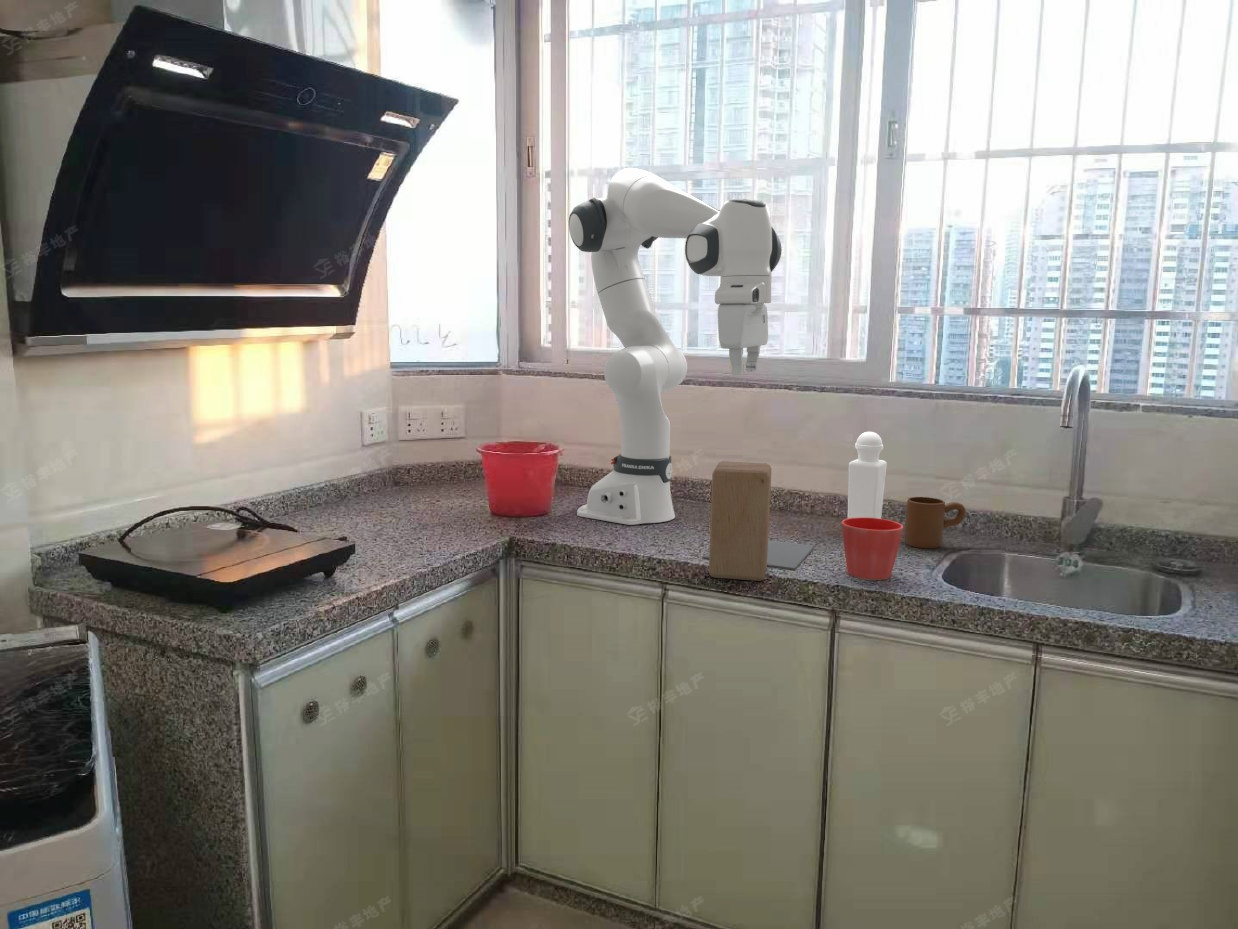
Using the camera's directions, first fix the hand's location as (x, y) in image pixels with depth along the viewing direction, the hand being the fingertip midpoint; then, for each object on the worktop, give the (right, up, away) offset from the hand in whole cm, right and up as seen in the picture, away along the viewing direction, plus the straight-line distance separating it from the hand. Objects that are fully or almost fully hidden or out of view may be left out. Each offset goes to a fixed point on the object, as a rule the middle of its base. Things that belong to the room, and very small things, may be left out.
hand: (744, 373), depth 168 cm
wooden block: (0, -36, +6) cm, 37 cm away
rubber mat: (+6, -34, +20) cm, 40 cm away
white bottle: (+31, -31, +39) cm, 59 cm away
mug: (+43, -33, +29) cm, 62 cm away
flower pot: (+24, -37, +7) cm, 44 cm away
